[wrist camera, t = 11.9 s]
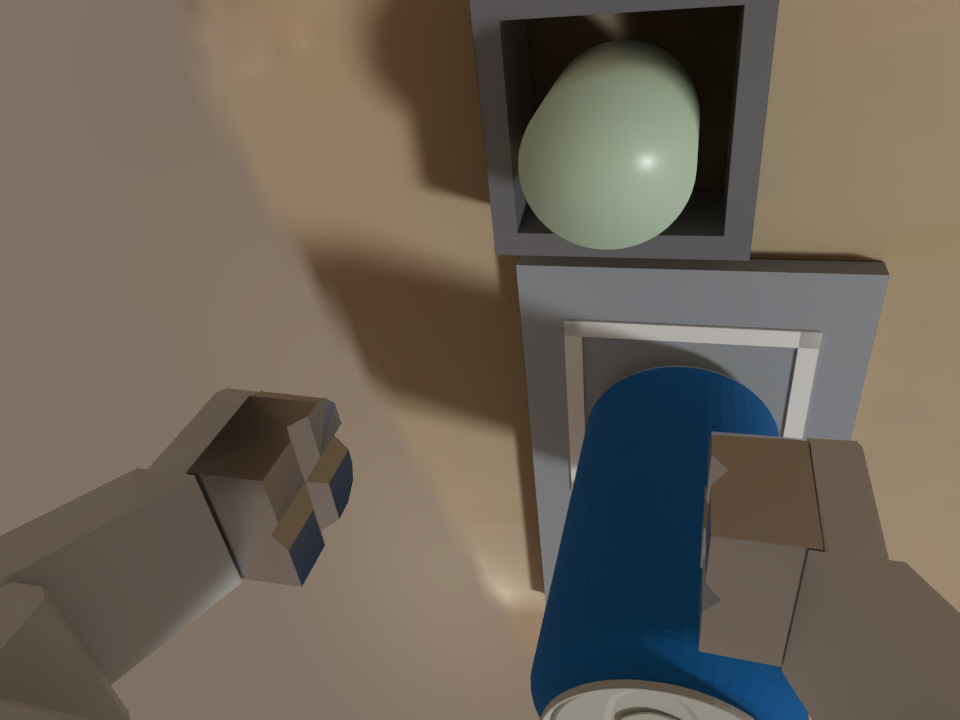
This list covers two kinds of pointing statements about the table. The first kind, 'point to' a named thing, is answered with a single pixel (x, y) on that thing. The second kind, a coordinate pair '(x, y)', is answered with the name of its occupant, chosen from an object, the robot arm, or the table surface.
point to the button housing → (508, 110)
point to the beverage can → (647, 563)
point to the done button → (613, 146)
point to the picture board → (688, 346)
